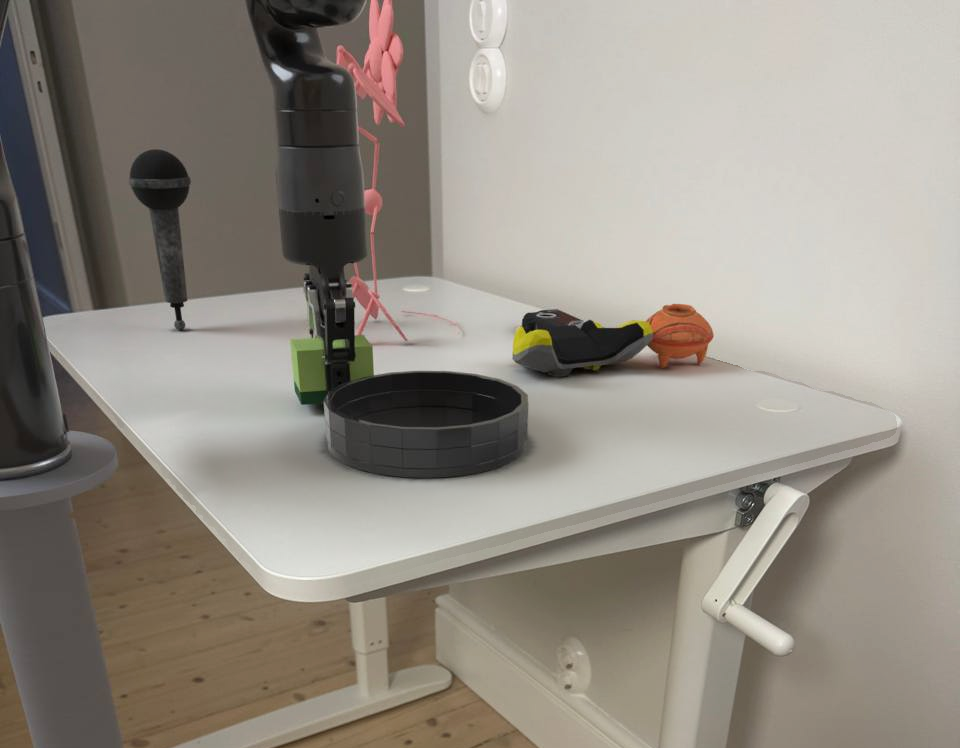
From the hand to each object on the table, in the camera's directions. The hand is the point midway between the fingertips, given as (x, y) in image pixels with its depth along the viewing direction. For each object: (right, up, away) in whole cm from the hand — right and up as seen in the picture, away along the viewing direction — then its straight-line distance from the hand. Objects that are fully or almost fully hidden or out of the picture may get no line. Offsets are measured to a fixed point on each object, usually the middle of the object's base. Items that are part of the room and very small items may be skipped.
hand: (335, 395), depth 94 cm
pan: (+9, -6, -9) cm, 14 cm away
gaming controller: (+24, +6, +12) cm, 28 cm away
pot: (+35, +7, +16) cm, 39 cm away
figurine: (+4, +14, +27) cm, 31 cm away
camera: (+23, +14, +27) cm, 38 cm away
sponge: (0, 0, 0) cm, 0 cm away
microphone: (-23, +15, +27) cm, 38 cm away
